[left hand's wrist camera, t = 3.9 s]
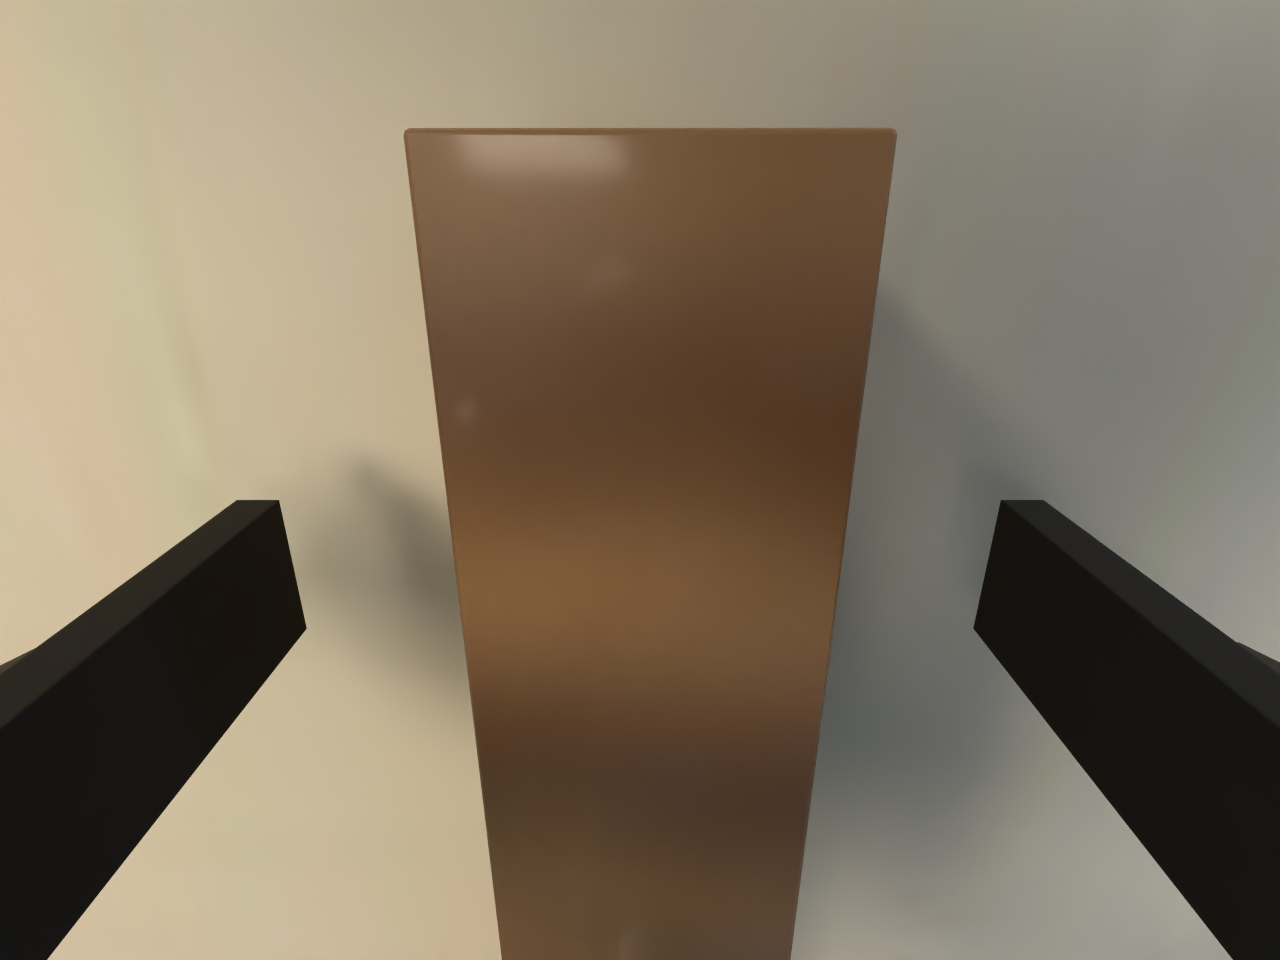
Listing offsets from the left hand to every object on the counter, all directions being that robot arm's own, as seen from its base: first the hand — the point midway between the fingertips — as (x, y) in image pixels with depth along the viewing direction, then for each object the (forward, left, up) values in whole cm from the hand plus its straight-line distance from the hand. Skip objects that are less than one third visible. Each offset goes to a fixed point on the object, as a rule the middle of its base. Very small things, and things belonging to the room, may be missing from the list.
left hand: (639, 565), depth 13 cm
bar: (+15, -11, -4) cm, 19 cm away
